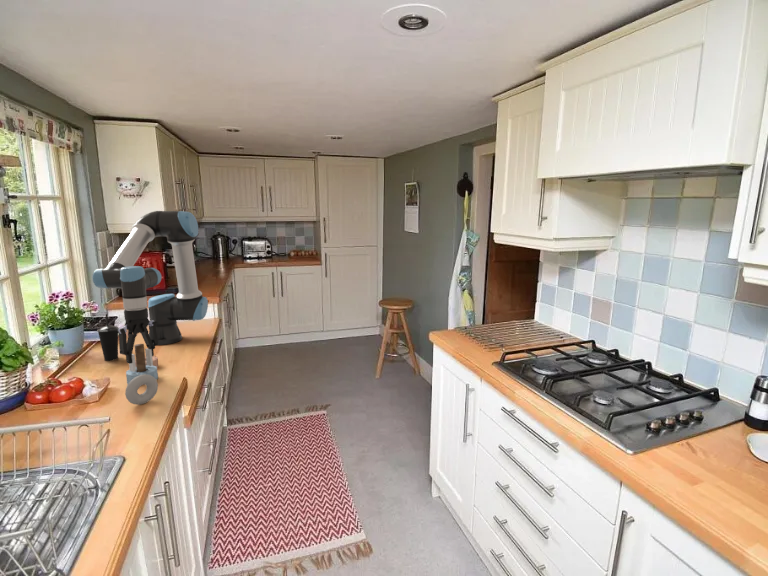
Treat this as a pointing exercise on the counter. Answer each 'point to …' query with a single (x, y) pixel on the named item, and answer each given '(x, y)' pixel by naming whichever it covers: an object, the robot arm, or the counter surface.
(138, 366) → the dowel
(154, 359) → the bead
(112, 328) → the drinking cup
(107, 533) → the counter surface
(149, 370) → the blue thick ring
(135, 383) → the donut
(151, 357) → the robot arm
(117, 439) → the counter surface
